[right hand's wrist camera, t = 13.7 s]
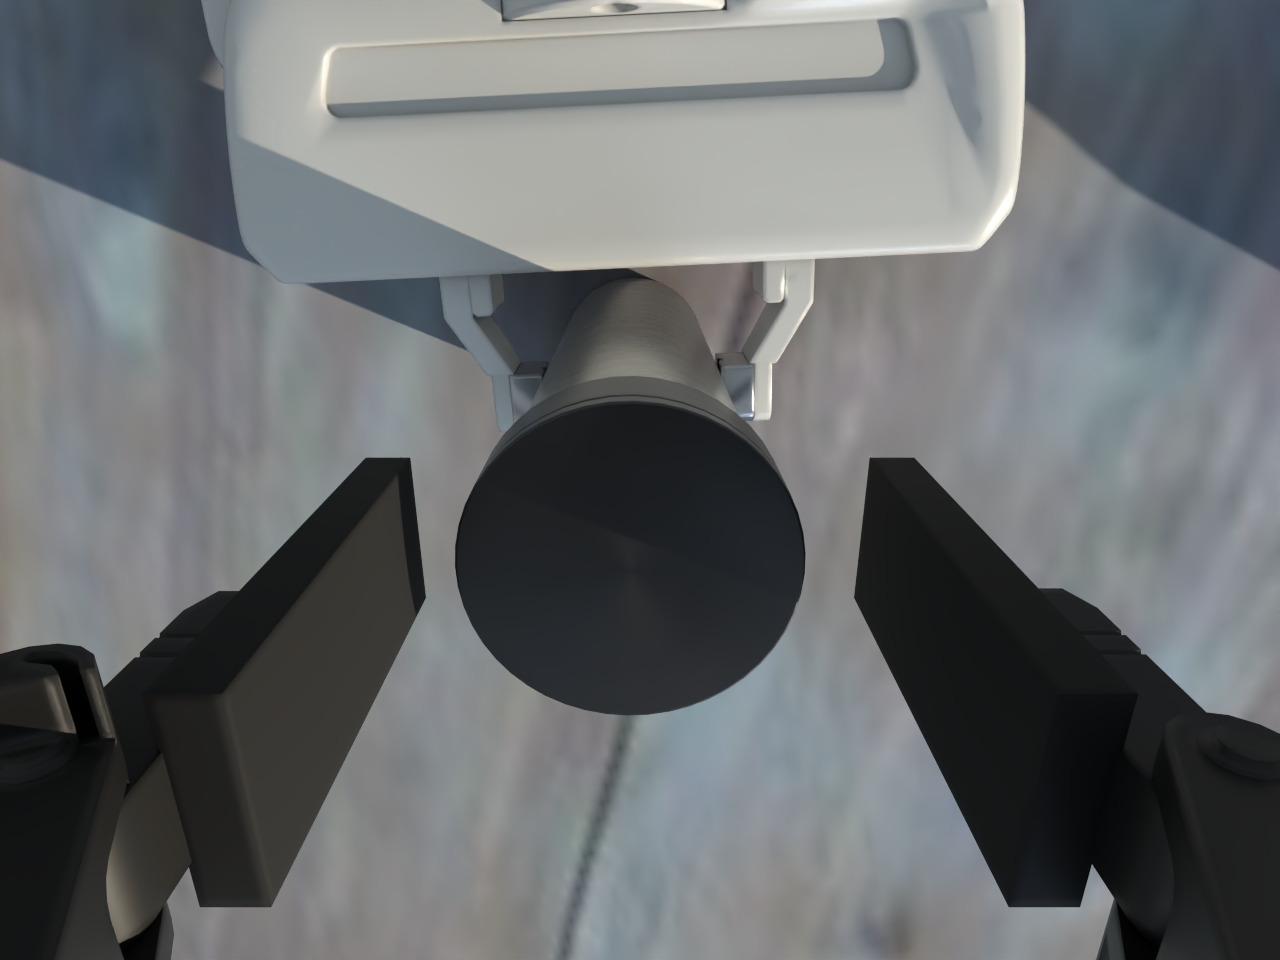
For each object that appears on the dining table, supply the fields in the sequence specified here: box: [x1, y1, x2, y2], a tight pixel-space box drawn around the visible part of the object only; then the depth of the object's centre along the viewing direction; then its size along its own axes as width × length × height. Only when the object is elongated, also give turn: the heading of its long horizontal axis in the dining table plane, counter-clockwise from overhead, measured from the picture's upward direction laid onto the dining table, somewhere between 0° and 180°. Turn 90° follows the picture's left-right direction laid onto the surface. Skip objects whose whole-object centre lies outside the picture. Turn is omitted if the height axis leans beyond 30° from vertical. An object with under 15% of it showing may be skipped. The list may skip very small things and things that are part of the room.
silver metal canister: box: [528, 278, 736, 412], centre depth 22 cm, size 5×5×18 cm
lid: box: [455, 376, 805, 715], centre depth 14 cm, size 6×6×2 cm
